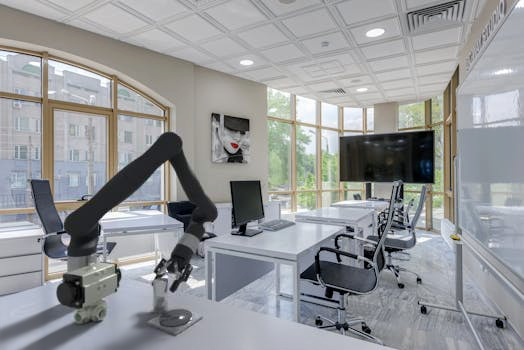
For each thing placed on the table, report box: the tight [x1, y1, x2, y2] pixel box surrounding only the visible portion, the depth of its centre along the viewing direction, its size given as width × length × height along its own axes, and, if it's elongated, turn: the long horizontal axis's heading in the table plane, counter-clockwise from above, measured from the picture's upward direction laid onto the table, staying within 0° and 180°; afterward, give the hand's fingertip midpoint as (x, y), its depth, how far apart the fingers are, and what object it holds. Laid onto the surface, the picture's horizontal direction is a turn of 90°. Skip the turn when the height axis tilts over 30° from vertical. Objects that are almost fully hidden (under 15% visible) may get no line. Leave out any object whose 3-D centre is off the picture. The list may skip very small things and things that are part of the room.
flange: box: [146, 306, 204, 336], centre depth 94 cm, size 12×12×1 cm
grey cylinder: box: [152, 277, 169, 314], centre depth 102 cm, size 5×5×10 cm
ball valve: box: [55, 261, 122, 325], centre depth 95 cm, size 18×8×18 cm, turn 159°
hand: (162, 289), depth 102 cm, fingers open, 8 cm apart
